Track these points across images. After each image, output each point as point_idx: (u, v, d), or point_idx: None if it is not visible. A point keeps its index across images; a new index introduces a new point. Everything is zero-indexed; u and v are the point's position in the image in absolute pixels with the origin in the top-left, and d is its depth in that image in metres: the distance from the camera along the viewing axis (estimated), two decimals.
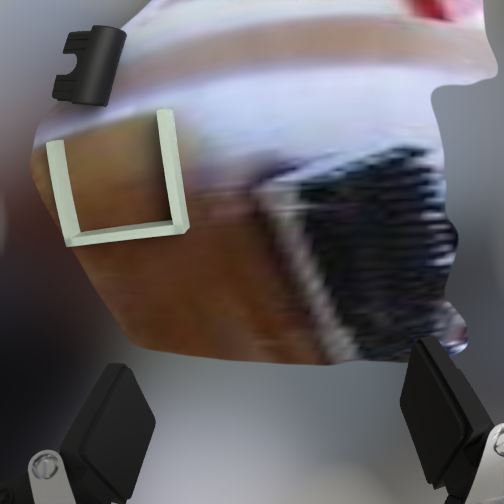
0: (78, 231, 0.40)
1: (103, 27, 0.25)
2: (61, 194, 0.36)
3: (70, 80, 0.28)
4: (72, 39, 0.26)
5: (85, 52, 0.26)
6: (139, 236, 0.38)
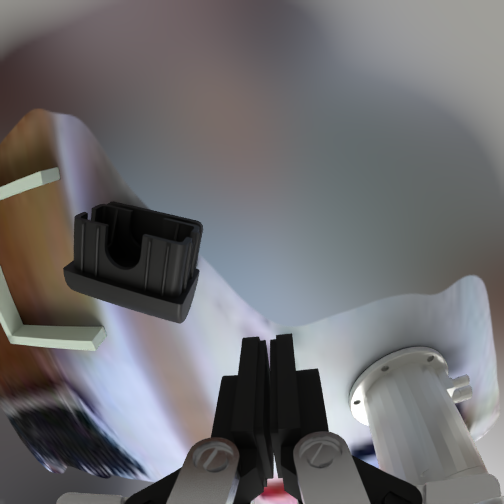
0: None
1: (177, 317, 0.22)
2: None
3: (95, 259, 0.21)
4: (166, 256, 0.20)
5: (133, 294, 0.21)
6: None
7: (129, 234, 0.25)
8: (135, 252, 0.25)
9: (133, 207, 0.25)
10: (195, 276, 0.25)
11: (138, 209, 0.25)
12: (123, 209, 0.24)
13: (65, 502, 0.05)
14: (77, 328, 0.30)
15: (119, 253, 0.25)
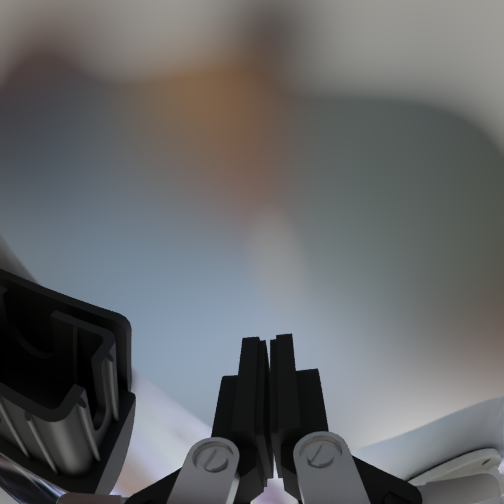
0: None
1: None
2: None
3: None
4: (35, 430, 0.06)
5: (12, 461, 0.07)
6: None
7: (11, 330, 0.11)
8: (27, 358, 0.11)
9: (14, 280, 0.11)
10: (125, 415, 0.11)
11: (19, 284, 0.11)
12: None
13: (65, 502, 0.05)
14: None
15: (8, 355, 0.11)
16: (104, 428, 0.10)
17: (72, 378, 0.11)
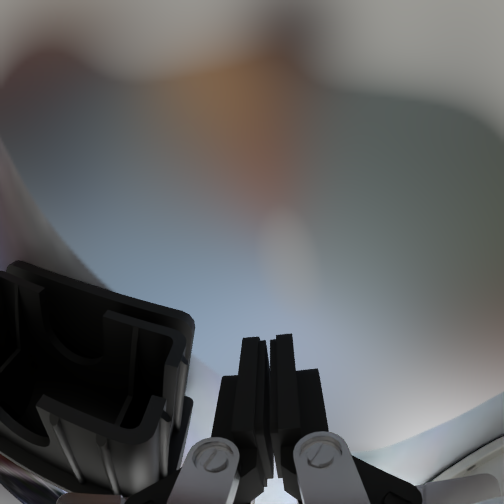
0: None
1: None
2: None
3: None
4: (103, 454, 0.06)
5: (60, 486, 0.06)
6: None
7: (47, 334, 0.10)
8: (64, 366, 0.11)
9: (50, 276, 0.11)
10: (185, 422, 0.11)
11: (57, 282, 0.10)
12: (26, 286, 0.10)
13: (65, 502, 0.05)
14: None
15: (40, 362, 0.11)
16: (168, 439, 0.09)
17: (122, 385, 0.11)
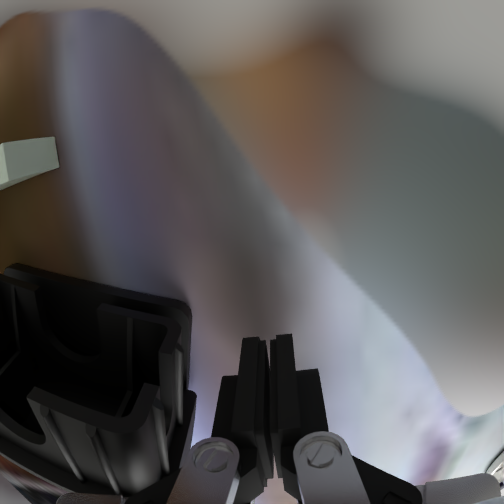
0: None
1: None
2: None
3: None
4: (96, 447, 0.06)
5: (60, 486, 0.06)
6: None
7: (45, 334, 0.10)
8: (65, 365, 0.11)
9: (45, 275, 0.11)
10: (189, 416, 0.11)
11: (52, 280, 0.10)
12: (22, 285, 0.09)
13: (65, 502, 0.05)
14: None
15: (41, 364, 0.11)
16: (170, 434, 0.09)
17: (122, 381, 0.11)
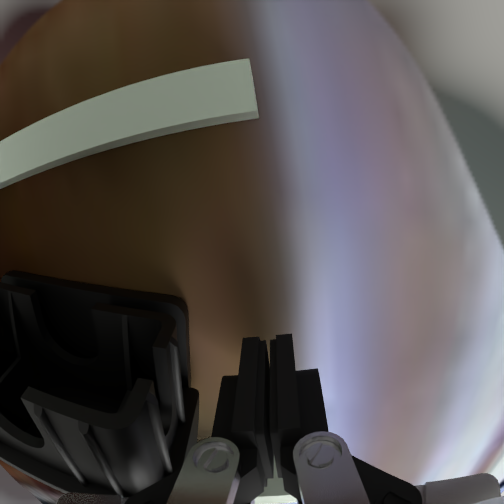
0: None
1: None
2: (2, 182, 0.07)
3: None
4: (92, 446, 0.06)
5: (63, 490, 0.06)
6: None
7: (44, 338, 0.10)
8: (65, 369, 0.10)
9: (41, 280, 0.10)
10: (191, 414, 0.10)
11: (48, 284, 0.10)
12: (18, 291, 0.09)
13: (65, 502, 0.05)
14: None
15: (42, 369, 0.11)
16: (171, 432, 0.09)
17: (123, 382, 0.10)
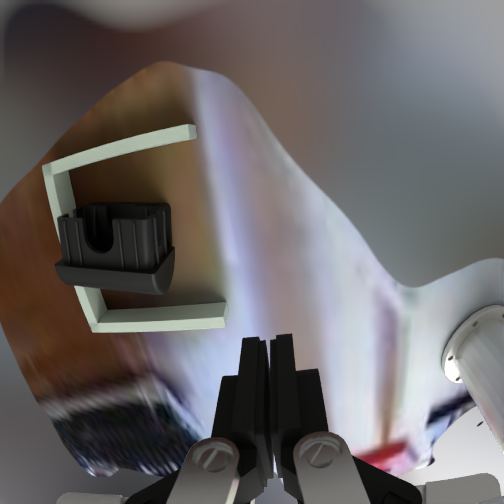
0: (67, 170, 0.26)
1: (154, 288, 0.24)
2: (106, 158, 0.24)
3: (79, 249, 0.23)
4: (133, 233, 0.23)
5: (113, 273, 0.23)
6: None
7: (108, 226, 0.27)
8: None
9: (108, 203, 0.28)
10: (170, 252, 0.27)
11: (112, 203, 0.27)
12: (99, 206, 0.26)
13: (65, 502, 0.05)
14: (191, 306, 0.31)
15: (103, 245, 0.28)
16: (160, 251, 0.26)
17: None
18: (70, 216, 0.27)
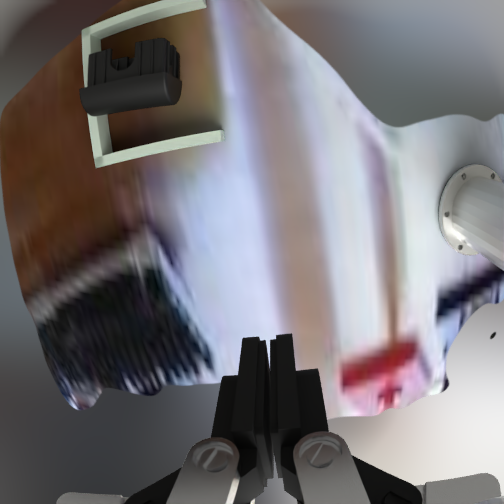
0: (100, 38, 0.28)
1: (164, 86, 0.26)
2: (137, 17, 0.26)
3: (103, 72, 0.25)
4: (151, 48, 0.24)
5: (130, 79, 0.25)
6: (89, 118, 0.30)
7: None
8: None
9: (129, 59, 0.30)
10: (178, 79, 0.29)
11: (132, 58, 0.29)
12: (122, 58, 0.29)
13: (65, 502, 0.05)
14: None
15: None
16: (170, 72, 0.28)
17: None
18: None
